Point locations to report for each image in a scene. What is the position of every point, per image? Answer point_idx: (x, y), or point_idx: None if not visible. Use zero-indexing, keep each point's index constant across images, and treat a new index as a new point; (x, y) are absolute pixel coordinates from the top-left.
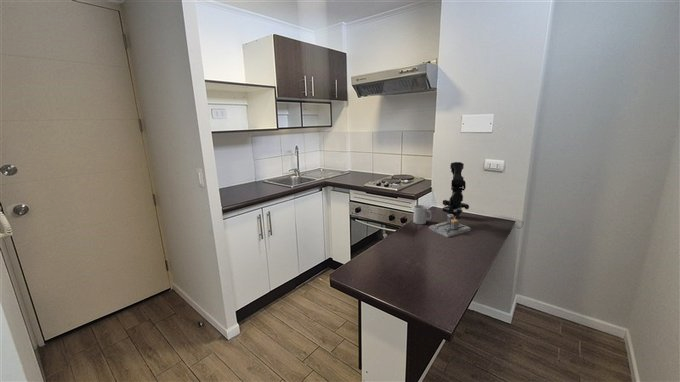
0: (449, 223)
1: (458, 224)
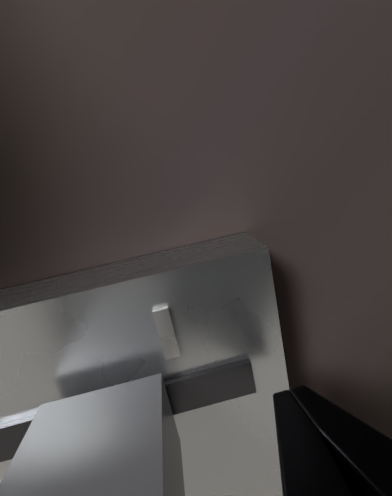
0: None
1: (246, 488)
